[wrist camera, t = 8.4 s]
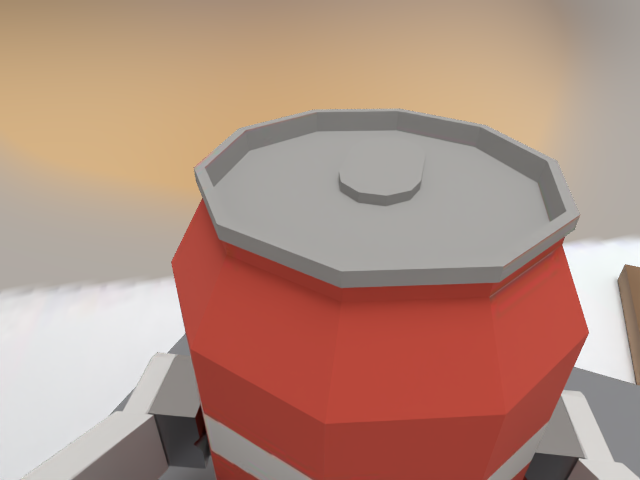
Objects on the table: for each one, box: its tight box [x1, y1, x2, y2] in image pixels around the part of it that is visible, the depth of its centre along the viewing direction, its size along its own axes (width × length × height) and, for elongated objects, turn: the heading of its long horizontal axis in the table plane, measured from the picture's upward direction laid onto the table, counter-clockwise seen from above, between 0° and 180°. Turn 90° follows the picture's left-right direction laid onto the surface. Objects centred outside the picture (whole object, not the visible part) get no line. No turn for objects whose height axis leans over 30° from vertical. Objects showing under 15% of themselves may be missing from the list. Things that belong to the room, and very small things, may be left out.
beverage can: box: [171, 109, 589, 480], centre depth 10 cm, size 6×6×12 cm
